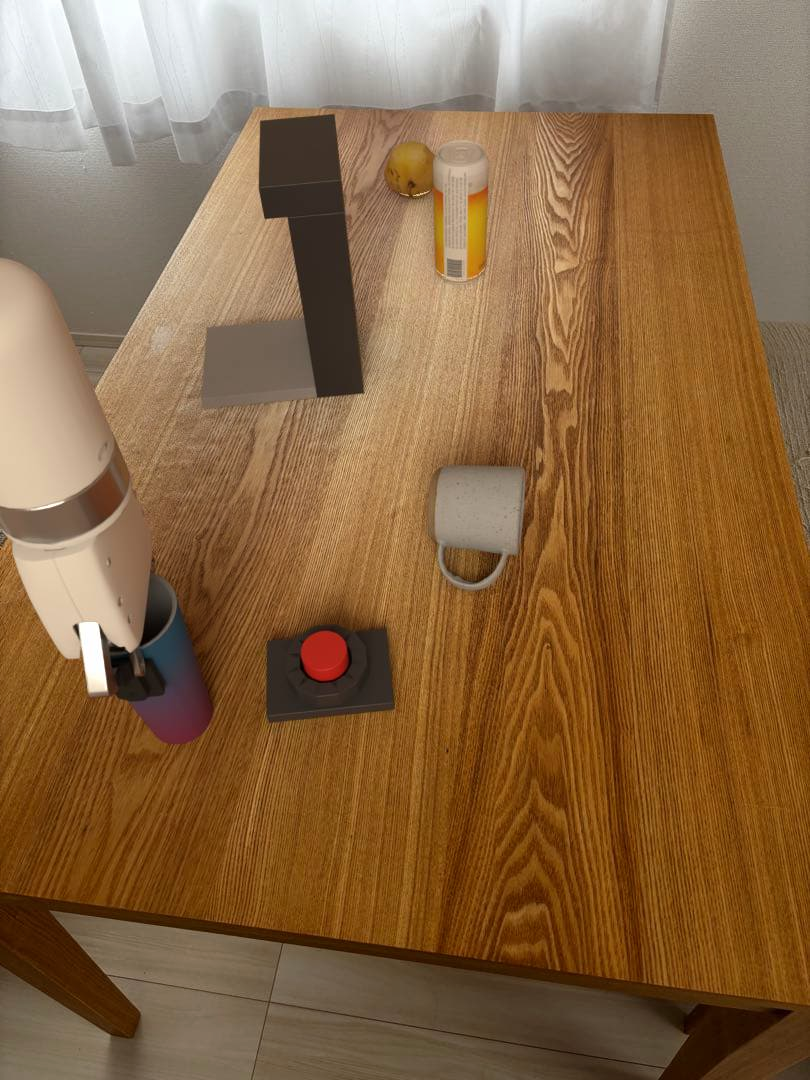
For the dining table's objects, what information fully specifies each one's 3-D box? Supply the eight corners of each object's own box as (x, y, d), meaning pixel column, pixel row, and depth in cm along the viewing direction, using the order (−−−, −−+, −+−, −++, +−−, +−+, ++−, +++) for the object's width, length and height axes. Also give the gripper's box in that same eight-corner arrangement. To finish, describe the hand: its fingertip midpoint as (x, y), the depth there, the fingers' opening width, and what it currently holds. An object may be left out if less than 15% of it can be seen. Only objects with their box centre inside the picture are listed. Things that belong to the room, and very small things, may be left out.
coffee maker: (204, 409, 92) (139, 198, 73) (209, 337, 99) (152, 129, 80) (364, 393, 92) (340, 179, 73) (357, 323, 100) (334, 113, 81)
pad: (268, 723, 68) (262, 705, 66) (269, 648, 73) (262, 628, 71) (394, 710, 69) (392, 691, 66) (387, 635, 73) (385, 615, 71)
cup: (123, 712, 70) (56, 607, 58) (195, 663, 72) (145, 553, 61) (165, 772, 66) (103, 674, 55) (240, 719, 69) (196, 614, 57)
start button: (304, 684, 68) (301, 672, 66) (303, 644, 70) (300, 632, 68) (350, 679, 68) (347, 667, 66) (347, 640, 70) (345, 628, 69)
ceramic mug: (437, 499, 82) (435, 442, 76) (524, 506, 81) (529, 449, 75) (422, 591, 76) (418, 537, 70) (515, 600, 75) (520, 546, 69)
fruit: (436, 173, 109) (448, 132, 114) (383, 157, 108) (397, 118, 114) (425, 220, 114) (436, 179, 120) (374, 205, 114) (388, 165, 120)
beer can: (487, 258, 106) (491, 138, 95) (483, 288, 103) (487, 167, 91) (438, 256, 107) (435, 137, 95) (432, 286, 103) (429, 165, 92)
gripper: (16, 382, 53) (109, 561, 67) (-50, 618, 42) (77, 771, 56) (140, 370, 53) (206, 551, 67) (105, 602, 42) (193, 759, 56)
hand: (146, 650), depth 61 cm, fingers closed on cup, 6 cm apart
